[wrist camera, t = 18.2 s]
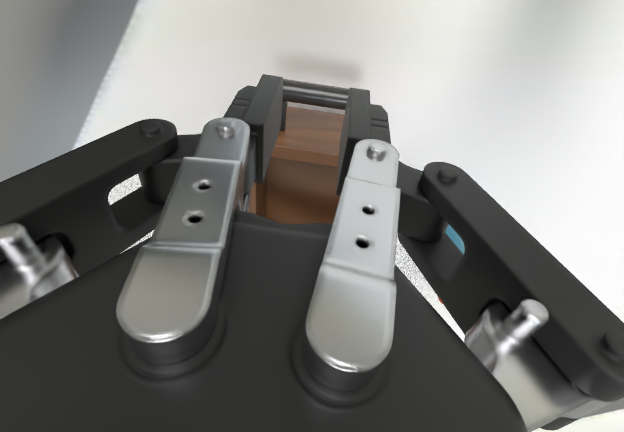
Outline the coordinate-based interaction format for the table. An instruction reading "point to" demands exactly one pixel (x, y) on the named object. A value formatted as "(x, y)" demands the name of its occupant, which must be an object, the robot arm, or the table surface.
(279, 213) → the drawer
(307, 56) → the table surface
